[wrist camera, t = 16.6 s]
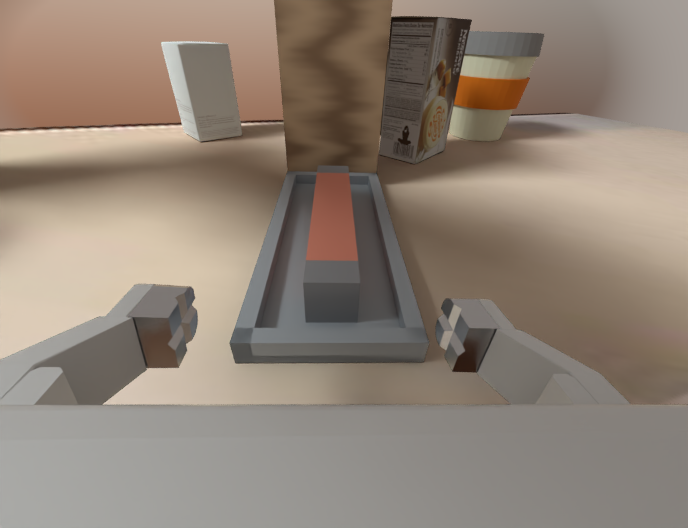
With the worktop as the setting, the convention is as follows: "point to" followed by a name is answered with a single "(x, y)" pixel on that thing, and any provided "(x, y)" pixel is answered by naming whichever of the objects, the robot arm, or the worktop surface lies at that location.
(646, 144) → the worktop surface
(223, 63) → the supplement box
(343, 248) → the bar
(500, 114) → the reusable coffee cup
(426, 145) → the coffee box
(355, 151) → the tall wooden block
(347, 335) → the tray
